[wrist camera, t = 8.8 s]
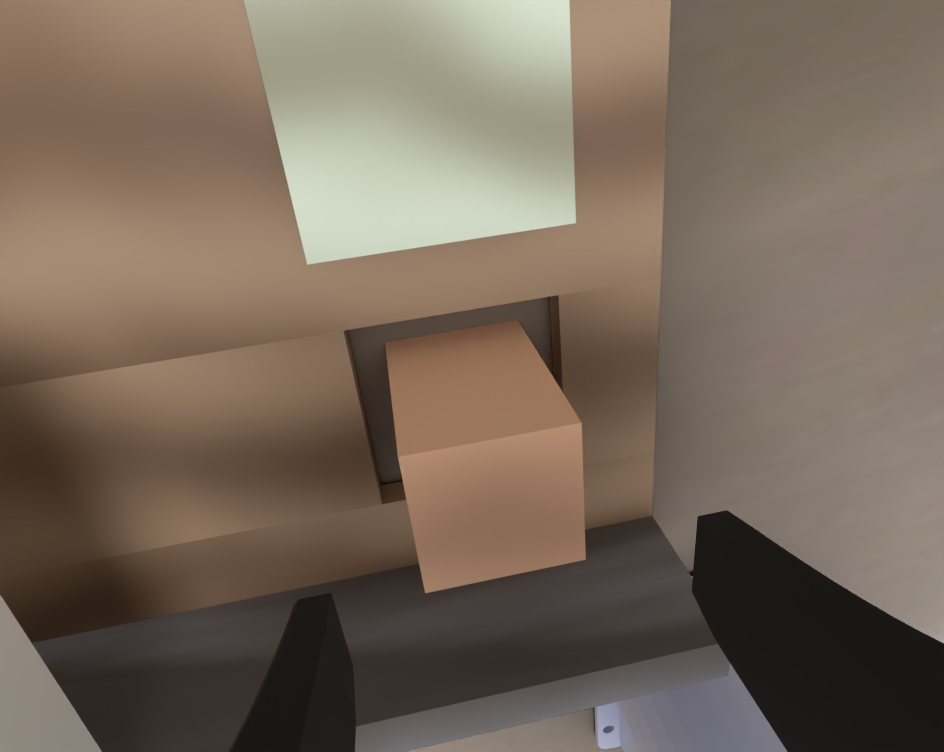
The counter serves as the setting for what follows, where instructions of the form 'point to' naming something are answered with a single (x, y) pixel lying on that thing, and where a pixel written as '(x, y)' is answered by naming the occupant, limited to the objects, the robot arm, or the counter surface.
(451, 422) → the block
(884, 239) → the counter surface
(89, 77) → the board
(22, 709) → the cover
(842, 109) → the counter surface
